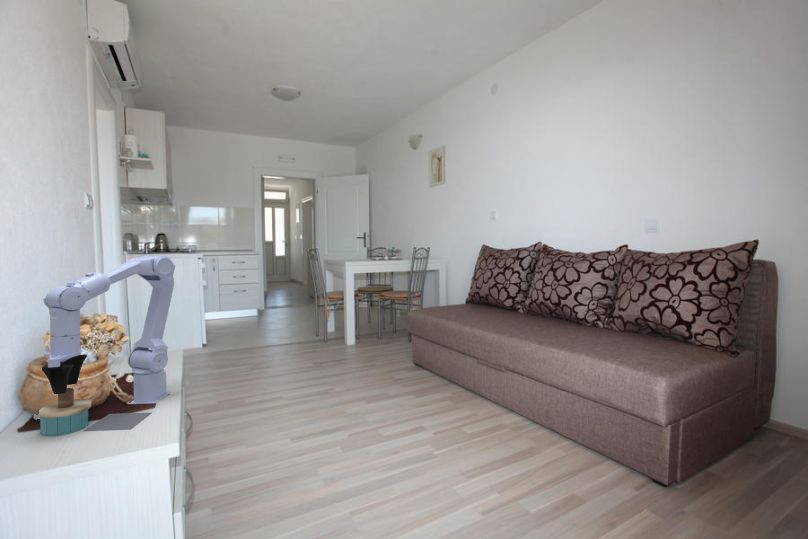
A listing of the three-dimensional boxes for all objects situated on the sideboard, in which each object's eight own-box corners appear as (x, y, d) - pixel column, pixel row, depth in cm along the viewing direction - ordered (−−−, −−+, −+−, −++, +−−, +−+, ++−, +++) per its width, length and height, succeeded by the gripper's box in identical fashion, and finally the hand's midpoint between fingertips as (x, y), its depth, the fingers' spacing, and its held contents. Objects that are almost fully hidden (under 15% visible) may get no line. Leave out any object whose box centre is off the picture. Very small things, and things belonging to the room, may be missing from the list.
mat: (109, 415, 109) (109, 413, 109) (152, 414, 110) (152, 412, 110) (82, 433, 98) (82, 431, 98) (131, 431, 99) (131, 429, 99)
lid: (58, 403, 104) (58, 384, 104) (100, 402, 105) (100, 383, 105) (27, 418, 94) (27, 397, 94) (74, 417, 95) (74, 396, 95)
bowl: (58, 423, 103) (58, 404, 103) (96, 421, 105) (96, 403, 105) (30, 438, 95) (30, 417, 94) (72, 436, 96) (72, 416, 96)
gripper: (57, 330, 104) (57, 381, 105) (31, 341, 91) (31, 400, 91) (90, 329, 107) (90, 379, 107) (69, 339, 94) (69, 396, 94)
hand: (65, 388), depth 99 cm, fingers open, 7 cm apart
